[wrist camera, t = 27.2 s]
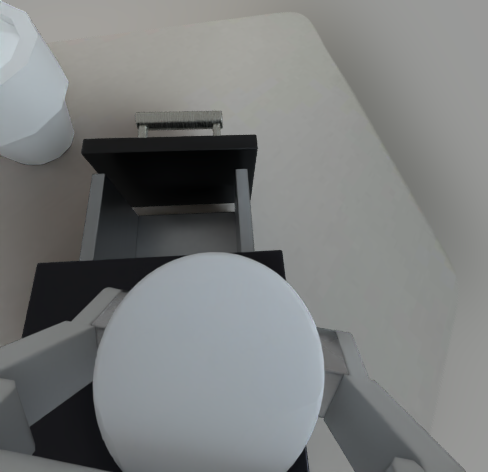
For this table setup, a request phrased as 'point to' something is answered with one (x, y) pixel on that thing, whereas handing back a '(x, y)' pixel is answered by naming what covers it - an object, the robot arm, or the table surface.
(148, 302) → the pill bottle
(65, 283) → the black drawer cabinet
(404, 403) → the table surface
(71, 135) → the potted plant
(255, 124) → the table surface
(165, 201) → the drawer
